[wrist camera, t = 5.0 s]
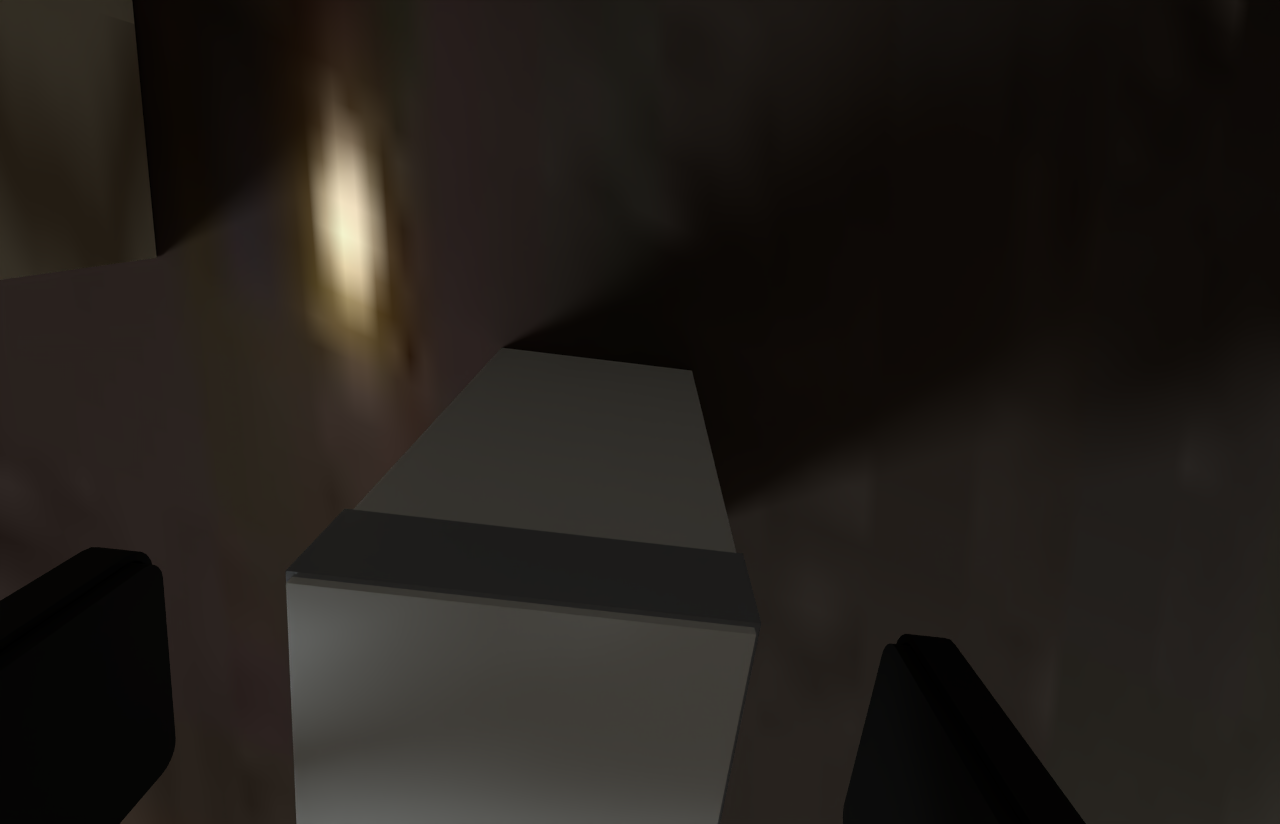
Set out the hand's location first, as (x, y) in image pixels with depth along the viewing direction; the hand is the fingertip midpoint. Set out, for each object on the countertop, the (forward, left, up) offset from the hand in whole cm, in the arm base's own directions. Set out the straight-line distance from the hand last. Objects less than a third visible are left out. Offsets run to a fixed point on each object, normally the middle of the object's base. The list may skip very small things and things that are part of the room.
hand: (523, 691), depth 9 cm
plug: (-1, 0, -7) cm, 7 cm away
